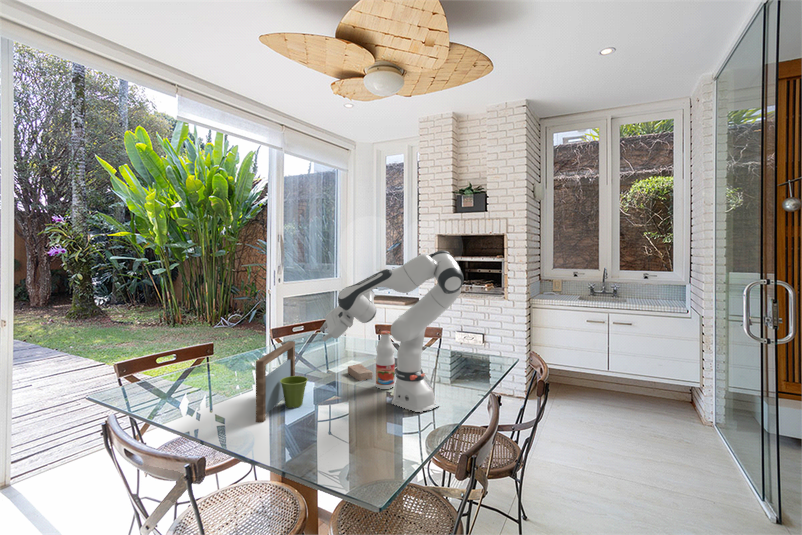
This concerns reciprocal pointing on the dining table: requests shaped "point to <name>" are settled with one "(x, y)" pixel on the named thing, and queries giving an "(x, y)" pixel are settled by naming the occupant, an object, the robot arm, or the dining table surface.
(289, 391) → the plant pot
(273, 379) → the door
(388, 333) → the fruit juice
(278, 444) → the dining table surface
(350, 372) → the brick
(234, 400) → the dining table surface
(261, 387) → the door frame
